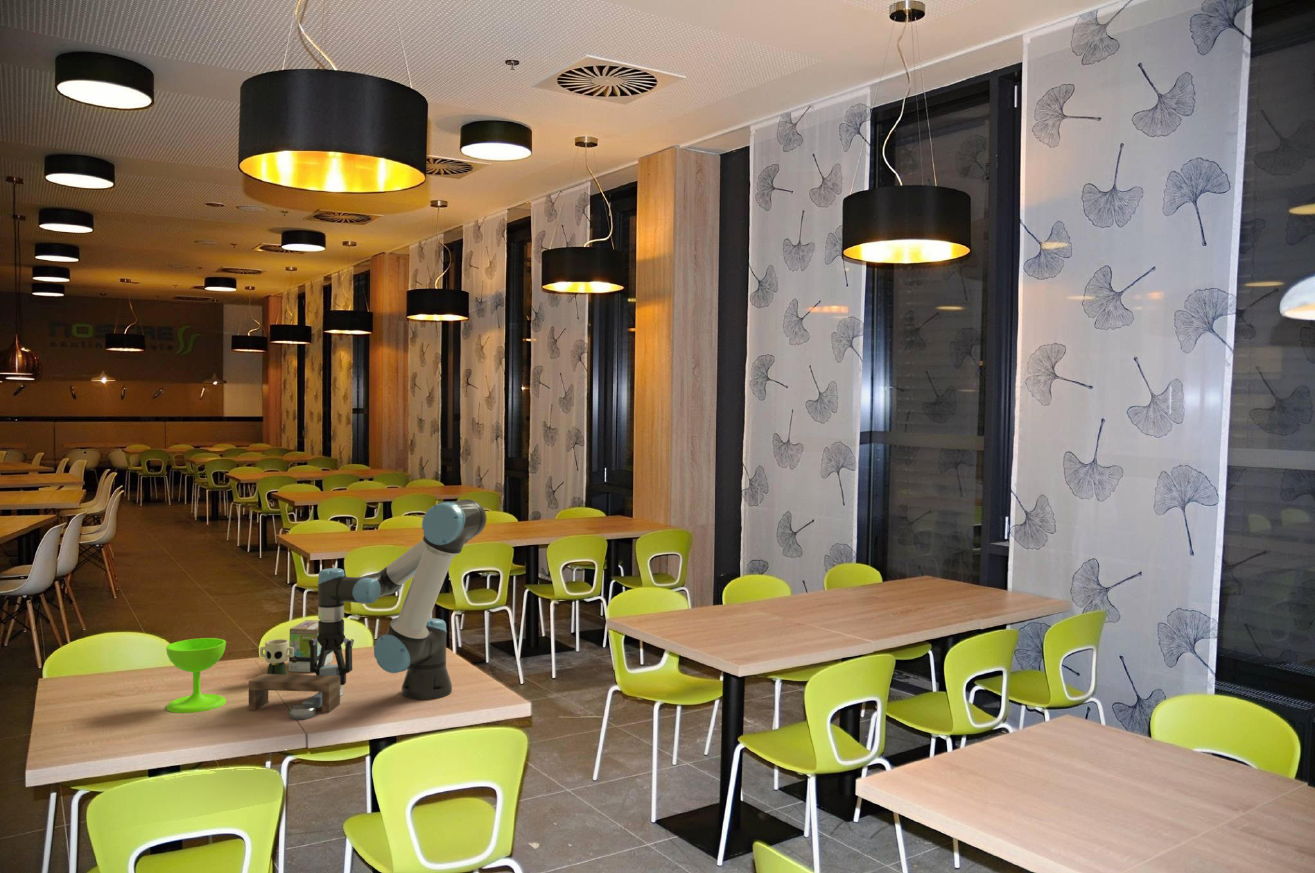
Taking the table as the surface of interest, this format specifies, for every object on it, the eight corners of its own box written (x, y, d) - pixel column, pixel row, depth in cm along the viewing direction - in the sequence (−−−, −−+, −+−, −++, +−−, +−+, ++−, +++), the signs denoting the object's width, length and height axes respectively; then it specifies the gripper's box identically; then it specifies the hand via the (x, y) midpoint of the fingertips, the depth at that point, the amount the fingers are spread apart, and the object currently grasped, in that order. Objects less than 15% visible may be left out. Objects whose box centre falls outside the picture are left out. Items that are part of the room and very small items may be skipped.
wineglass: (157, 705, 280) (157, 644, 280) (212, 693, 292) (212, 635, 291) (179, 716, 269) (179, 653, 269) (235, 704, 281) (235, 644, 281)
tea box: (317, 672, 317) (317, 628, 316) (287, 672, 317) (287, 628, 317) (333, 661, 332) (333, 619, 332) (305, 660, 332) (305, 618, 332)
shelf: (339, 704, 282) (339, 675, 281) (328, 712, 274) (328, 683, 273) (261, 702, 283) (261, 673, 283) (248, 710, 275) (248, 681, 275)
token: (319, 712, 274) (319, 703, 274) (310, 720, 267) (310, 711, 267) (295, 712, 274) (295, 703, 274) (285, 720, 267) (285, 711, 267)
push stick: (326, 693, 292) (326, 664, 292) (342, 693, 292) (342, 664, 292) (299, 711, 274) (299, 680, 274) (315, 711, 274) (316, 680, 274)
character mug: (255, 684, 302) (255, 643, 302) (264, 678, 309) (264, 638, 309) (289, 684, 302) (289, 644, 302) (297, 678, 309) (297, 638, 309)
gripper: (364, 617, 293) (364, 692, 293) (308, 616, 294) (308, 690, 294) (354, 622, 285) (354, 699, 285) (297, 621, 286) (297, 697, 287)
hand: (331, 694), depth 290 cm, fingers closed on push stick, 5 cm apart
